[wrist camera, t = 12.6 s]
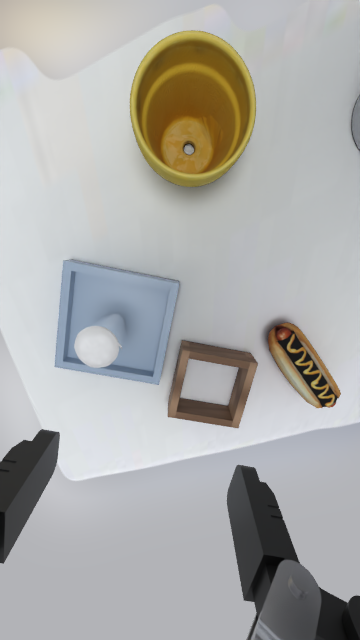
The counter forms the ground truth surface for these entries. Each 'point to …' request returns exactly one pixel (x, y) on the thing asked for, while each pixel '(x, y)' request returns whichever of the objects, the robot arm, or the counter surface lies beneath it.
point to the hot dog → (302, 366)
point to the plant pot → (192, 107)
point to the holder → (208, 410)
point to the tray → (125, 300)
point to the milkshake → (101, 341)
